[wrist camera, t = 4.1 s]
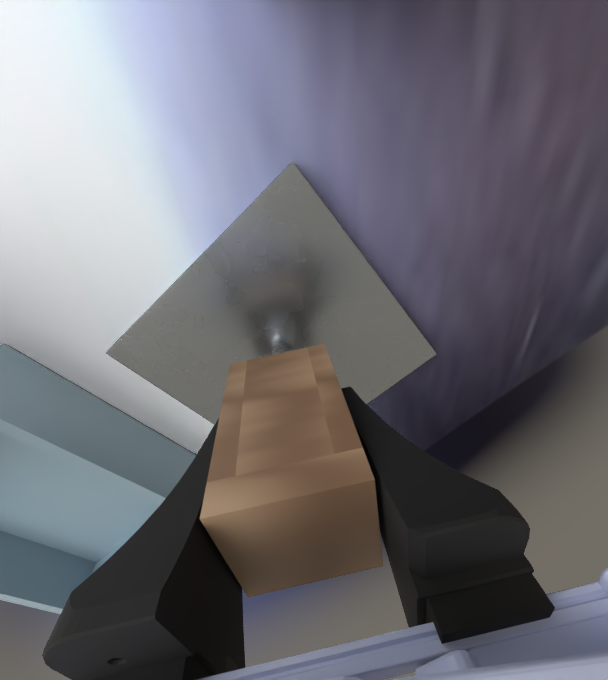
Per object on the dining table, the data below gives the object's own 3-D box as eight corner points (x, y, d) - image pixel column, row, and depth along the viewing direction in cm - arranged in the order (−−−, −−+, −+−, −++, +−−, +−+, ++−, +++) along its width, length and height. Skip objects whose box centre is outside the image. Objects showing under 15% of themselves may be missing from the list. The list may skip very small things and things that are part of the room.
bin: (-117, 488, 20) (-198, 552, 17) (4, 343, 16) (-67, 387, 13) (103, 561, 27) (78, 618, 23) (223, 470, 23) (216, 522, 20)
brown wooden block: (254, 432, 15) (248, 597, 9) (229, 364, 13) (199, 518, 7) (336, 414, 16) (383, 566, 9) (324, 343, 13) (374, 479, 7)
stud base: (113, 344, 17) (57, 403, 13) (290, 163, 14) (304, 152, 9) (278, 455, 23) (281, 524, 18) (429, 346, 20) (479, 396, 15)
